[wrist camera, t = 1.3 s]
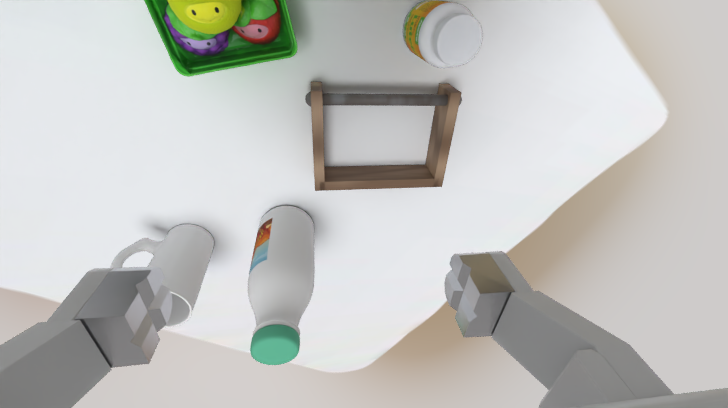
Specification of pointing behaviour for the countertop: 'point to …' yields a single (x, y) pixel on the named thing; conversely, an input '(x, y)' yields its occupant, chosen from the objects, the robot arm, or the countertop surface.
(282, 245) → the milk bottle
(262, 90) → the countertop surface
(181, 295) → the mug
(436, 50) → the supplement bottle
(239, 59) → the fruit basket
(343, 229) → the countertop surface
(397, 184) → the wooden bar rack
